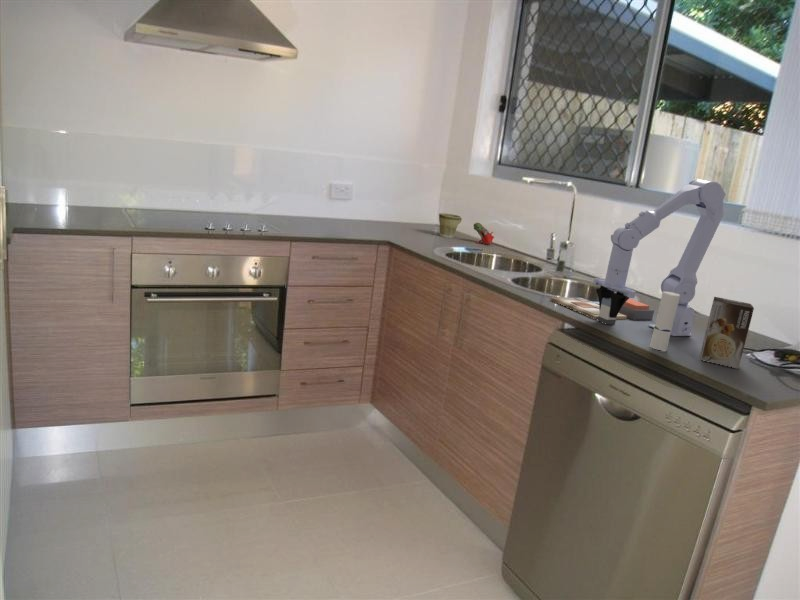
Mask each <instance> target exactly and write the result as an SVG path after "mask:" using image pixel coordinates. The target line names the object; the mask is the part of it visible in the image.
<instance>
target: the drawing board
mask: <svg viewBox="0 0 800 600" xmlns="http://www.w3.org/2000/svg"><path fill="white" fill-rule="evenodd" d="M550 301H551V302H553V303H555V302H556V303H555V304H557V303H558V305H560V304H561V305H560V306H562V305H563V306H562V307H564V306H566V307H565V308H567V307H568V308H567V309H569V308H571V309H573V310H572V311H574V310H576V311H578V312H581V313H583V314H585V315H588V316H590V317H592V318H594V319H593V320H595V319H598V316H599V313H600V307H599V303H595V302H594V301H590V300H588V299H586V298H583V297H550ZM571 309H570V310H571ZM576 311H575V312H576ZM578 312H577V313H578ZM581 313H580V314H581ZM583 314H582V315H583ZM585 315H584V316H585ZM588 316H587V317H588ZM590 317H589V318H590ZM592 318H591V319H592ZM627 318H628V317H627V316H625V315H623V314H620V313H618V315H617V317H616V320H627Z"/></svg>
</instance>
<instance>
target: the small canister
mask: <svg viewBox="0 0 800 600" xmlns="http://www.w3.org/2000/svg"><path fill="white" fill-rule="evenodd" d="M610 308H611V298H602V303H601V308H600V313H599V316H598V320H599V321H601V322H603V323H602V324H604V323H606V324H605V325H615V324H616V322H617V321H616V320H617V319H616V318H611V317H610ZM598 320H597V321H598ZM599 321H598V322H599ZM601 322H600V323H601Z"/></svg>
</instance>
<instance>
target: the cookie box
mask: <svg viewBox="0 0 800 600" xmlns="http://www.w3.org/2000/svg"><path fill="white" fill-rule="evenodd" d="M710 308H711V309H710V313H709V317H708V320H707V324H706V329H705V332H704V336H703V340H702V344H701V348H700V352H699V357H700V361H701V360H705V361H709V362H713V363H716V364H715V365H718V364H720V365H719V366H722V365H724V366H723V367H727V366H728V368H731V367H732V369H737V370H739V368H740V365H741V360H742V356H743V353H744V348H745V345H746V341H747V338H748V334H749V330H750V326H751V321H752V317H753V314H754V310H755V308H754V306H753V305H752V304H751V303H747V302H745V301H744V302H742V301H738V300H732V299H728V298H723V297H719V296H713V300H712V303H711V307H710ZM709 362H708V363H709ZM713 363H712V364H713Z"/></svg>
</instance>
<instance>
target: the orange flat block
mask: <svg viewBox="0 0 800 600" xmlns="http://www.w3.org/2000/svg"><path fill="white" fill-rule="evenodd" d="M624 305H625V306H627V307H630V308H633V309H635V310H649V309H650V305H648V304H645V303H643V302H641V301H637V300H635V299H634V298H629V299H628V300H627V301H626V302H625V303H624Z"/></svg>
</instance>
